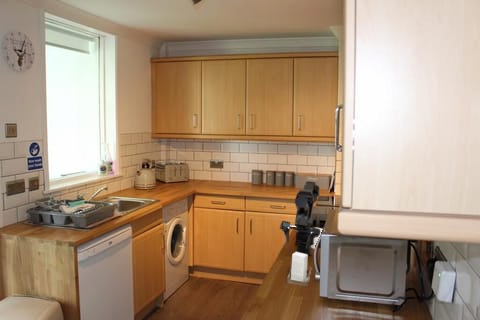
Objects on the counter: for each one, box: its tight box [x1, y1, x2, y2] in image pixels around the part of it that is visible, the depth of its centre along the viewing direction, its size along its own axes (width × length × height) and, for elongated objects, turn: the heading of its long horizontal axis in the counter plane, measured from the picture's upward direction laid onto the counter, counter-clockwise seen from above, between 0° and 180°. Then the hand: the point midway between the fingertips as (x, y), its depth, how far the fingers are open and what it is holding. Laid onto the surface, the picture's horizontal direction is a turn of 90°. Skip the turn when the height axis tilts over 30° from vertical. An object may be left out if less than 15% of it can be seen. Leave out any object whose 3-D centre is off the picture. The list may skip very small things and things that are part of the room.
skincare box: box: [290, 251, 309, 282], centre depth 192 cm, size 6×4×12 cm
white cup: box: [310, 227, 324, 250], centre depth 236 cm, size 8×8×10 cm
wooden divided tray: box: [286, 265, 313, 287], centre depth 196 cm, size 18×10×2 cm, turn 166°
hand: (297, 246), depth 200 cm, fingers open, 9 cm apart
